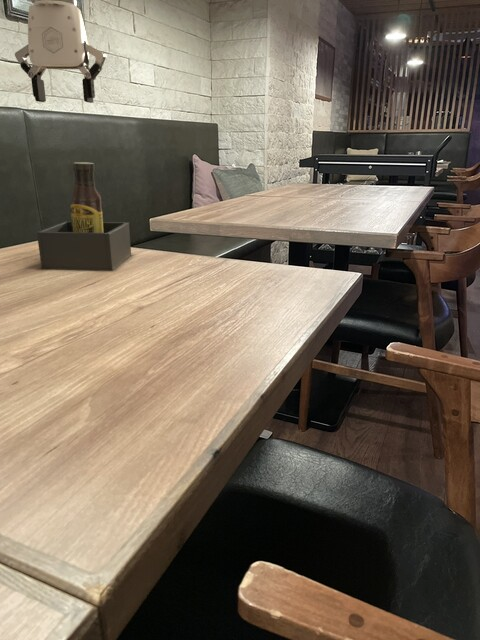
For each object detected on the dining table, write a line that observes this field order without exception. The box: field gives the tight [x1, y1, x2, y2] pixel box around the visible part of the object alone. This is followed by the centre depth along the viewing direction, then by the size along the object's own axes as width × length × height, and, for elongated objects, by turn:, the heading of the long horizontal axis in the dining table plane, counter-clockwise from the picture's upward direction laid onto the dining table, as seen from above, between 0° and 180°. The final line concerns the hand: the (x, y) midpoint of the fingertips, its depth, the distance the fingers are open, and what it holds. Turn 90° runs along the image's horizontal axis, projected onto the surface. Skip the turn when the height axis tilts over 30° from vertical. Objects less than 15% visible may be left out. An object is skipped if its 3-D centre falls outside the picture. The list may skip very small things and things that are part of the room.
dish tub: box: [36, 220, 132, 272], centre depth 104 cm, size 15×14×8 cm
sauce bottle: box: [70, 161, 104, 233], centre depth 102 cm, size 7×6×20 cm
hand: (64, 101), depth 96 cm, fingers open, 9 cm apart
